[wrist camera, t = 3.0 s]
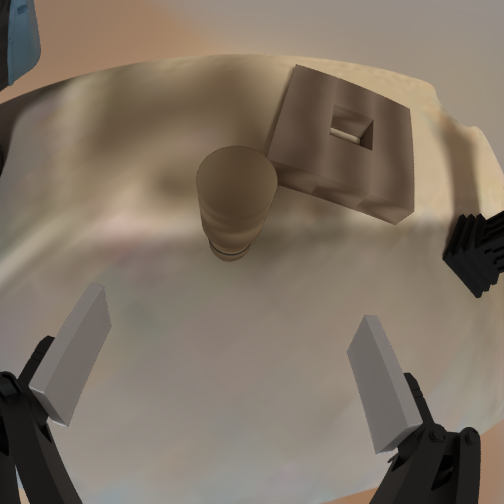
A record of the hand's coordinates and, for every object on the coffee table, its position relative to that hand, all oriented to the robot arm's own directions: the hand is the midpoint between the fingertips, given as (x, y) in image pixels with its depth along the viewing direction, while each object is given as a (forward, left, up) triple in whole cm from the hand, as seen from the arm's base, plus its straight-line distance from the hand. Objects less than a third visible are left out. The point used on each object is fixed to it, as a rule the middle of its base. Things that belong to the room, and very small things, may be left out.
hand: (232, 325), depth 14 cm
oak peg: (-2, +7, -13) cm, 15 cm away
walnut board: (+7, +23, -12) cm, 27 cm away
